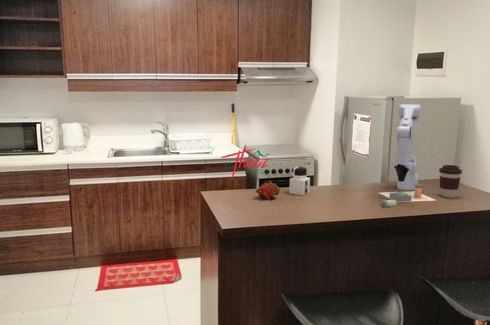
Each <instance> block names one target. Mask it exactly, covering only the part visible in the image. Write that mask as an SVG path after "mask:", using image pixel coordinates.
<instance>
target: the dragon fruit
mask: <svg viewBox="0 0 490 325" xmlns="http://www.w3.org/2000/svg"><path fill="white" fill-rule="evenodd" d="M280 190H281V189H280V186H278V184H277V183H272V182H271V181H269V182H263V184H260V185H259V187H258V188H257V189H256V191H255V193H256V194H257V197H259V198H261V199H267V200H270V199H274V197H276V196H277V197H278V196H279V194H280Z"/></svg>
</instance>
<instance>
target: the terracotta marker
mask: <svg viewBox="0 0 490 325" xmlns="http://www.w3.org/2000/svg"><path fill="white" fill-rule="evenodd" d="M413 191H414V197H415V198H421V194H422V192H423V184H419V183H418V184H415V189H414V190H413Z"/></svg>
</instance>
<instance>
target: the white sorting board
mask: <svg viewBox="0 0 490 325" xmlns="http://www.w3.org/2000/svg"><path fill="white" fill-rule="evenodd" d="M396 192H397V191H387V192H379V194H380V195H382V196H384V197H386V198H388V200H396V202H397V203H407V202H430V201H432V202H434V201H437V200H436V199H435V198H433V197H429V196H427V195H425V194H421V198H415V197H414V190H413V191H412V190H409V191H403V192H404V193H405V196H398V195H396Z"/></svg>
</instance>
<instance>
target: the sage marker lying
mask: <svg viewBox="0 0 490 325" xmlns="http://www.w3.org/2000/svg"><path fill="white" fill-rule="evenodd" d="M379 204H380V205H381V208H382V209H383V208H389V207H397V205H398V202H396V200H391V199H381V200H380V203H379Z"/></svg>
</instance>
